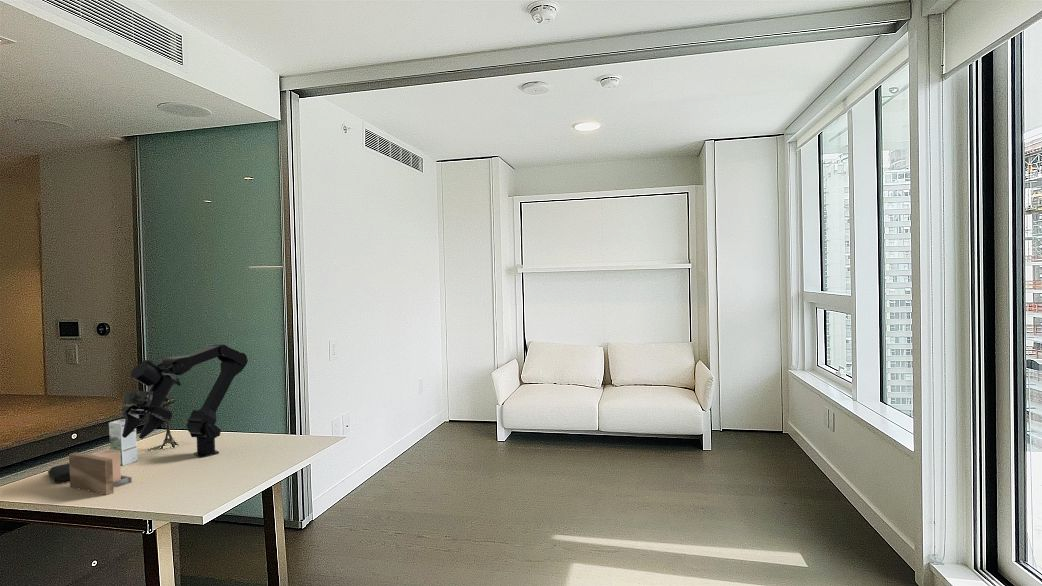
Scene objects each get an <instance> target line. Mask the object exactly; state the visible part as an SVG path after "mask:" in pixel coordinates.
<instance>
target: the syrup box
mask: <svg viewBox="0 0 1042 586" xmlns="http://www.w3.org/2000/svg"><path fill="white" fill-rule="evenodd" d="M124 426H125V418H119V419H116V420H114V421H110V422H108V428H109V429H108V431H109V432H108V433H109V449H110V450H115V451H120V466H126V465H129V464H133V463H135V462H138V460H139V457H138V443H137V427H136V428H135V429H134V430H133V431H132V432H131V433H130V434H129V435H128V436H127V437H126V438H124V437H122V434H123V430H124Z"/></svg>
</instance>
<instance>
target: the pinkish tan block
mask: <svg viewBox="0 0 1042 586" xmlns="http://www.w3.org/2000/svg"><path fill="white" fill-rule="evenodd" d="M88 455H93V456H99V457H104V458H110V459H112V465H113V482H115V481H118V480H121V475H122V473H121V465H120V451H115V450H110V448H109V449H105V450H101V451H97V452H94V453H89V454H88Z"/></svg>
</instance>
